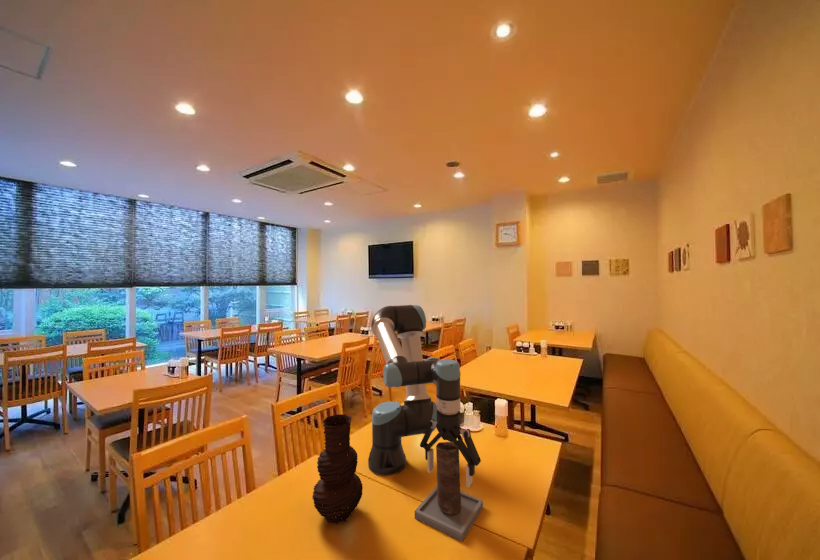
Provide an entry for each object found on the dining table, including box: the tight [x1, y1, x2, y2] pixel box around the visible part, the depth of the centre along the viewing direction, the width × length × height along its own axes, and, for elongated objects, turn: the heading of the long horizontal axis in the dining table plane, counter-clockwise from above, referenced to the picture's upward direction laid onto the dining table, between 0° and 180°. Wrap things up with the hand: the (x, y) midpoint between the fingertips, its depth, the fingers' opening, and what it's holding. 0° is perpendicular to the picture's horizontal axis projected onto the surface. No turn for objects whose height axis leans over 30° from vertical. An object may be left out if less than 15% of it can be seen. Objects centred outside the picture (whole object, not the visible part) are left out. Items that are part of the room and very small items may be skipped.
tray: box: [414, 485, 484, 542], centre depth 100 cm, size 16×16×2 cm
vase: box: [311, 413, 364, 525], centre depth 100 cm, size 15×15×30 cm
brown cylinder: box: [435, 441, 462, 515], centre depth 100 cm, size 8×7×20 cm
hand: (449, 477), depth 100 cm, fingers open, 13 cm apart
